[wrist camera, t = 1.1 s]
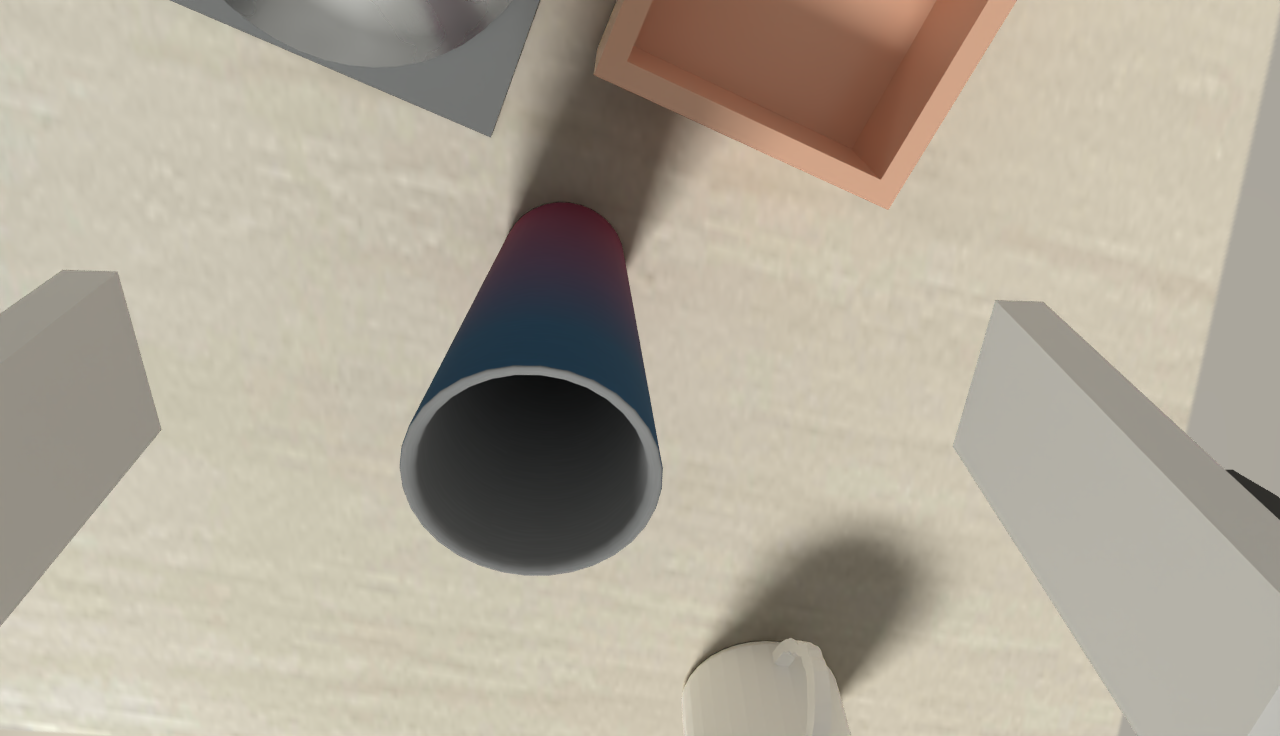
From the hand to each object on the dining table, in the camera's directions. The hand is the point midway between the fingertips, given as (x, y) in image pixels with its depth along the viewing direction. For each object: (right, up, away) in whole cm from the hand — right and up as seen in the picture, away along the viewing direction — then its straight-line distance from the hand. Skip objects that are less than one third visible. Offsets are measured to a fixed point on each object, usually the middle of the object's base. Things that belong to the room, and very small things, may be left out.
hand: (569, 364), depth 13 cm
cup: (-2, +5, +22) cm, 22 cm away
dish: (+7, +14, +16) cm, 23 cm away
